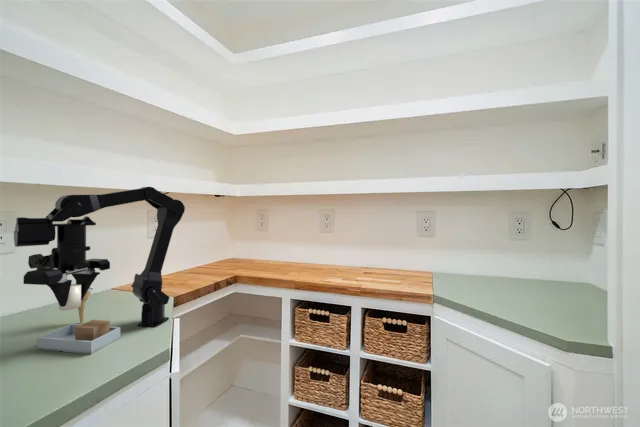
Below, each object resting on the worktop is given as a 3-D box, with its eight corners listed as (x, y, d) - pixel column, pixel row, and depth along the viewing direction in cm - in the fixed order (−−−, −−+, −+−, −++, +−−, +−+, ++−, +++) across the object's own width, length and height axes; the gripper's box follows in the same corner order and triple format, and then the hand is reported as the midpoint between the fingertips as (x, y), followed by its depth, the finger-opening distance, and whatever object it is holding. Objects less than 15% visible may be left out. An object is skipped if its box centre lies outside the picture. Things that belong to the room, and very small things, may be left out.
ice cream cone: (97, 319, 93) (97, 272, 93) (83, 326, 88) (84, 277, 87) (79, 319, 93) (79, 272, 93) (64, 326, 87) (64, 276, 87)
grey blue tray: (71, 334, 82) (71, 323, 82) (120, 338, 81) (120, 327, 81) (37, 349, 73) (37, 337, 73) (91, 354, 72) (91, 342, 72)
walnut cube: (92, 338, 79) (92, 319, 79) (109, 339, 79) (109, 320, 79) (75, 346, 74) (75, 327, 74) (93, 348, 74) (93, 328, 74)
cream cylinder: (68, 304, 78) (68, 283, 78) (85, 304, 78) (85, 284, 78) (53, 310, 74) (54, 288, 73) (71, 310, 74) (71, 288, 74)
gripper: (75, 238, 85) (75, 291, 86) (1, 247, 67) (1, 314, 67) (111, 239, 85) (111, 293, 85) (46, 248, 66) (46, 317, 66)
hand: (71, 303), depth 76 cm, fingers closed on cream cylinder, 4 cm apart
